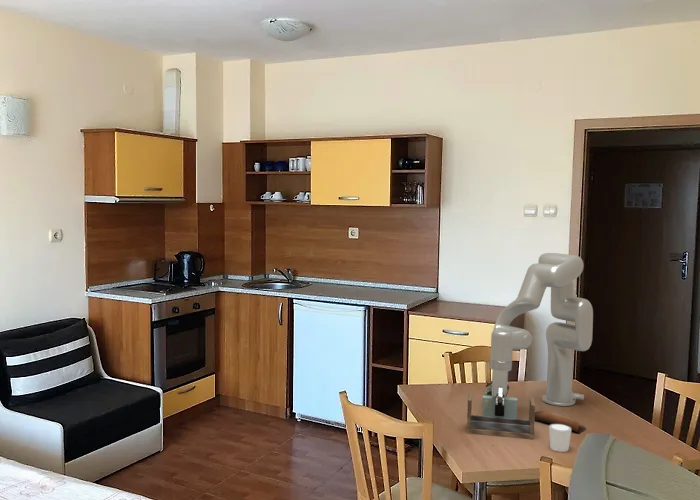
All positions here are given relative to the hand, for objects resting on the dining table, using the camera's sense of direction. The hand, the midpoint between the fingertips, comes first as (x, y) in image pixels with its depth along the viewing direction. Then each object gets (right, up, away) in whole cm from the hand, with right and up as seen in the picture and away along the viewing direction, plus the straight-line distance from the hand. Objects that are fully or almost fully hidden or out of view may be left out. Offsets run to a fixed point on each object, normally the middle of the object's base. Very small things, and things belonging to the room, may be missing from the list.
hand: (499, 411), depth 225 cm
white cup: (+14, -6, -23) cm, 27 cm away
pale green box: (0, -4, 0) cm, 4 cm away
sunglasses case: (+22, -5, -1) cm, 22 cm away
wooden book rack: (-2, -5, -9) cm, 11 cm away
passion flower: (+4, -3, +19) cm, 20 cm away
